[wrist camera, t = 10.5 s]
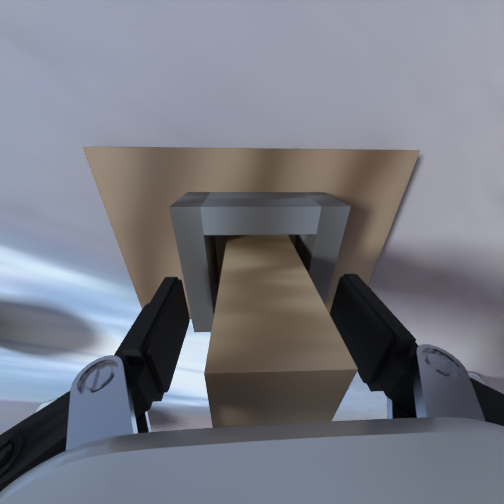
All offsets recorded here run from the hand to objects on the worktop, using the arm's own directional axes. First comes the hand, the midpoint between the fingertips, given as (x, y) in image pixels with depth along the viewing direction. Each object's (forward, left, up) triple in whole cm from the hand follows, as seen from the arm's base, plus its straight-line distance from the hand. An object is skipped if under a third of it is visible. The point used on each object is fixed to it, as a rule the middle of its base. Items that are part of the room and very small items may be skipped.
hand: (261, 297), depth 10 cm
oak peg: (0, 0, -5) cm, 5 cm away
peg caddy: (0, 0, -7) cm, 7 cm away
